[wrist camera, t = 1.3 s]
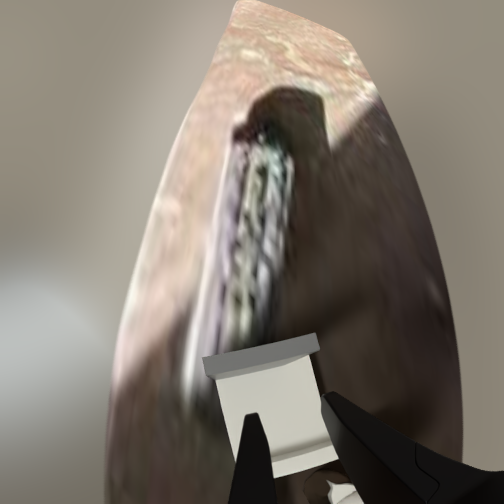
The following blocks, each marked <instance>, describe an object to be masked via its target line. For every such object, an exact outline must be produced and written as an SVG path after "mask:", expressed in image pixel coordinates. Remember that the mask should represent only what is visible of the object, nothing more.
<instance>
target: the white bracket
mask: <svg viewBox="0 0 504 504" xmlns="http://www.w3.org/2000/svg"><path fill="white" fill-rule="evenodd" d="M318 350H320V347H319V344H318V340H317V336H316V333H312V334H308V335H304V336H300V337H296V338H292V339H288V340H284V341H279V342H275V343H271V344H266V345H262V346H257V347H253V348H248V349H243V350H239V351H234V352H229V353H224V354H218V355H213V356H208V357H202V359H203V364H204V369H205V374H206V376H207V377H210V378H212V379H214V380H216V384H217V389H218V393H219V397H220V401H221V406H222V410H223V414H224V418H225V422H226V426H227V430H228V434H229V438H230V442H231V446H232V450H233V454H234V457H235V461H236V458H237V453H238V448H239V443H240V437H241V432H242V427H243V421H244V416H245V415H246V414H250V413H254V412H257V413H258V414H259V417H260V419H261V422H262V425H263V428H264V431H265V434H266V436H267V439H268V443H269V447H270V454H271V461H272V468H273V475H274V478H277V477H281V476H284V475H288V474H292V473H295V472H299V471H302V470H306V469H309V468H312V467H316V466H319V465H322V464H325V463H328V462H331V461H334V460H336V459H339V458H338V456H337V454H336V452H335V449H334V447H333V444H332V442H331V439H330V436H329V434H328V431H327V428H326V426H325V423H324V421H323V418H322V415H321V400H320V396H319V392H318V388H317V384H316V380H315V376H314V372H313V369H312V365H311V361H310V357H309V354H312V353H314V352H316V351H318Z"/></svg>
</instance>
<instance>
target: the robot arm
mask: <svg viewBox="0 0 504 504" xmlns="http://www.w3.org/2000/svg"><path fill="white" fill-rule="evenodd" d="M321 415H322V418H323V421H324V423H325V426H326V428H327V431H328V434H329V436H330V439H331V442H332V444H333V447H334V449H335V452H336V454H337V456H338V458H339V460H340V462H341V463H342V465H343V467H344V469H345V471H346V473H347V474H348V476H349V478H350V480H351V482H352V483H353V485H354V487H355V489H356V491H357V492H358V494H359V496H360V498H361V499H362V501H363V503H364V504H504V471H485V470H480V469H477V468H474V467H472V466H469V465H466V464H463V463H461V462H458V461H455V460H453V459H450V458H448V457H445V456H443V455H441V454H439V453H436V452H434V451H433V450H431V449H429V448H427V447H425V446H423V445H421V444H420V443H418V442H416V443H415V441H414V440H413V439H411V438H409V437H407V436H406V435H404V434H402V433H401V432H399V431H397V430H395V429H394V428H392V427H390V426H389V425H387V424H386V423H384V422H382V421H381V420H379V419H377V418H376V417H374V416H372V415H371V414H369V413H368V412H366V411H364V410H363V409H361V408H360V407H358V406H357V405H355V404H353V403H352V402H350V401H349V400H347V399H346V398H344V397H343V396H341V395H339V394H338V393H336V392H334V391H332V392H329V393H326V394H323V395H322V397H321ZM228 504H278V502H277V495H276V488H275V482H274V475H273V468H272V461H271V454H270V447H269V443H268V439H267V436H266V434H265V431H264V428H263V425H262V422H261V419H260V417H259V414H258V413H257V412H254V413H250V414H246V415H245V416H244V421H243V427H242V432H241V437H240V443H239V448H238V453H237V458H236V464H235V469H234V474H233V479H232V484H231V489H230V494H229V499H228Z"/></svg>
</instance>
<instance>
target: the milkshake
mask: <svg viewBox="0 0 504 504" xmlns="http://www.w3.org/2000/svg"><path fill="white" fill-rule="evenodd" d="M303 492H304V494H305V496H306V498H307V500H308V502H309V504H364V503H363V501H362V499H361V498H360V496H359V494H358V492H357V491H356V489H355V487H354V485H353V483H352V482H351V480H350V478H349V476H347V475H345V474H343V473H340V472H337V471H334V470H331V469H329V468H328V469H324V470H320V471H316V472H315V473H314V474H312V475H311V476H310V477H309V478H308V479H307V480H306V482H305V487H304V491H303Z"/></svg>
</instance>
